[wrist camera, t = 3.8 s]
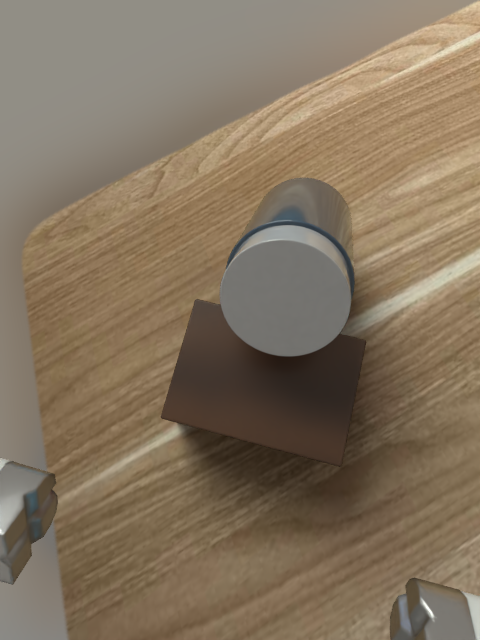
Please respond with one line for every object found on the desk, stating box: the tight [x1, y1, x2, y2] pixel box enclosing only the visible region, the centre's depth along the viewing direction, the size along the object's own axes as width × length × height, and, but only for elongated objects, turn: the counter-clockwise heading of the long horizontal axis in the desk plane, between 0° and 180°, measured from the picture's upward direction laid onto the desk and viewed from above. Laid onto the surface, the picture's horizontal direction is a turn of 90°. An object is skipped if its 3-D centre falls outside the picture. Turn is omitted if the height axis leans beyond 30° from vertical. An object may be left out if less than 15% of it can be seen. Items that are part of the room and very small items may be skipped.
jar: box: [220, 178, 355, 356], centre depth 25 cm, size 12×6×12 cm, turn 165°
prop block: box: [161, 299, 366, 467], centre depth 27 cm, size 7×10×5 cm
